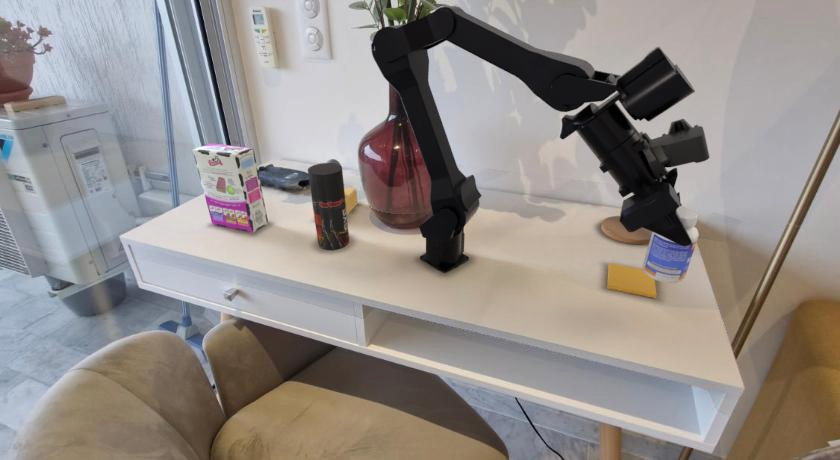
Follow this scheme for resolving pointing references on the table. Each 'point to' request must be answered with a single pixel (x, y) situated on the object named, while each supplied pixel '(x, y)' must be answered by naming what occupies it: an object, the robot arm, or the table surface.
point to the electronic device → (283, 178)
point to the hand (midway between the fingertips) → (687, 234)
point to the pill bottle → (671, 252)
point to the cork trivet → (624, 232)
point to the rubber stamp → (347, 193)
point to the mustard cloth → (630, 280)
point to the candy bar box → (231, 186)
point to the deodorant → (329, 205)
